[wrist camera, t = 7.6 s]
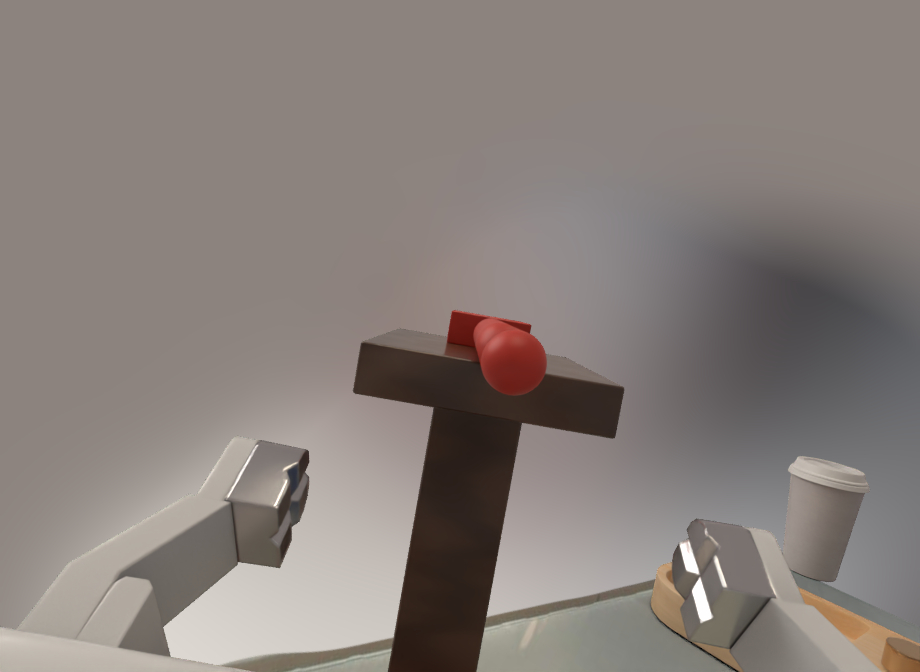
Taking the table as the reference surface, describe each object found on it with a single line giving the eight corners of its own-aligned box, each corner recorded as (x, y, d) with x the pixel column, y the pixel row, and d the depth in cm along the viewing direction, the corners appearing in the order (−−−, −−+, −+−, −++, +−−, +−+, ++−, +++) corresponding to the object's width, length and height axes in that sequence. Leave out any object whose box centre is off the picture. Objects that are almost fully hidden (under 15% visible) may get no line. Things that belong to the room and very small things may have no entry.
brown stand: (254, 984, 22) (360, 340, 21) (327, 747, 34) (398, 328, 33) (502, 1027, 22) (625, 387, 21) (489, 775, 34) (567, 357, 33)
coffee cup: (866, 593, 73) (890, 482, 73) (792, 580, 74) (816, 469, 73) (821, 560, 83) (843, 462, 82) (757, 548, 83) (777, 450, 82)
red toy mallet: (596, 415, 13) (609, 346, 13) (425, 385, 13) (436, 316, 13) (516, 348, 33) (521, 321, 33) (449, 337, 33) (453, 310, 33)
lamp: (629, 604, 59) (676, 369, 58) (712, 578, 70) (754, 378, 68) (1100, 901, 33) (1206, 484, 32) (1118, 787, 44) (1198, 470, 42)
